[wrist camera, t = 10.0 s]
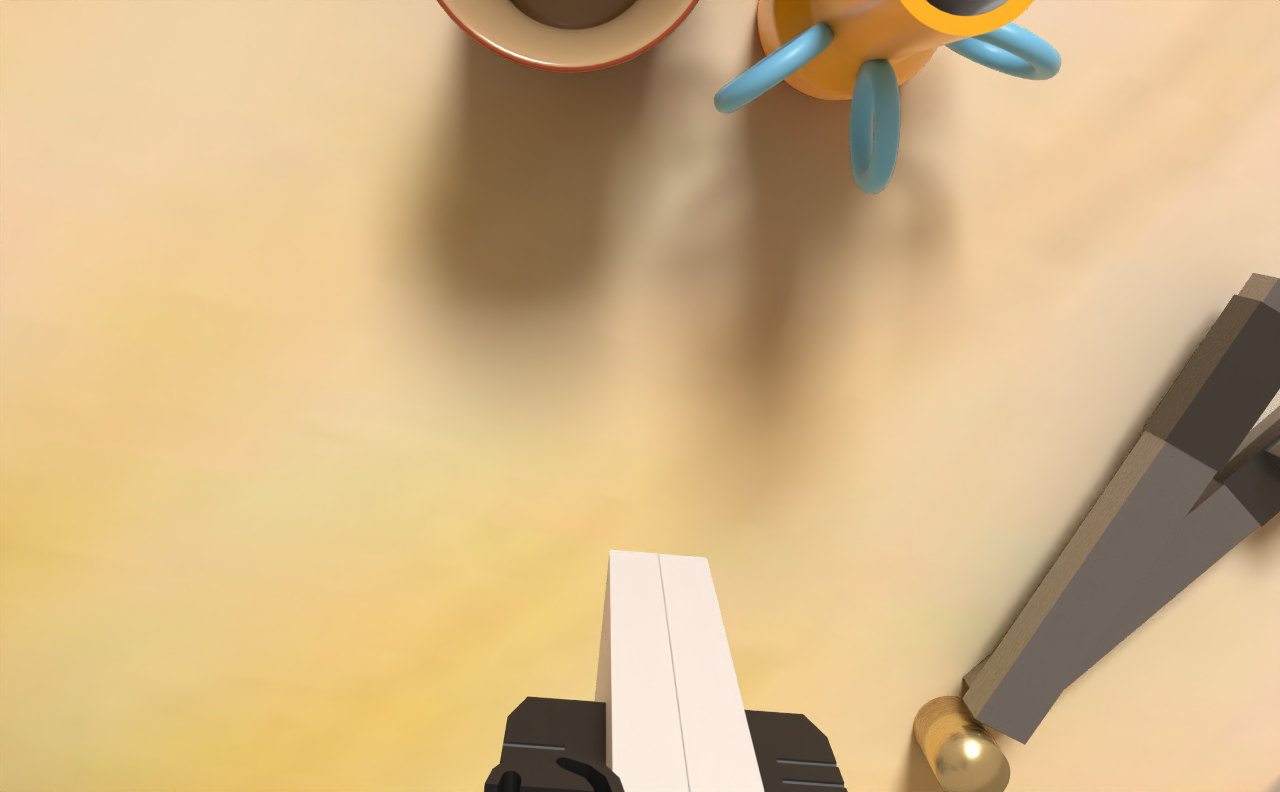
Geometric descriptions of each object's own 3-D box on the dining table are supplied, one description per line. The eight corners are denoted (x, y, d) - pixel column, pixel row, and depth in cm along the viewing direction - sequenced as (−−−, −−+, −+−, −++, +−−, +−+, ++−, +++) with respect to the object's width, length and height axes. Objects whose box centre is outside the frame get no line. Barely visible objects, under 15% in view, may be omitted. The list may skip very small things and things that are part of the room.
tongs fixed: (942, 766, 47) (970, 819, 44) (900, 725, 47) (926, 776, 43) (1376, 399, 44) (1447, 423, 40) (1336, 351, 43) (1404, 370, 40)
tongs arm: (1012, 724, 45) (1027, 746, 43) (959, 696, 44) (973, 718, 43) (1304, 304, 41) (1333, 311, 39) (1249, 271, 41) (1277, 277, 39)
